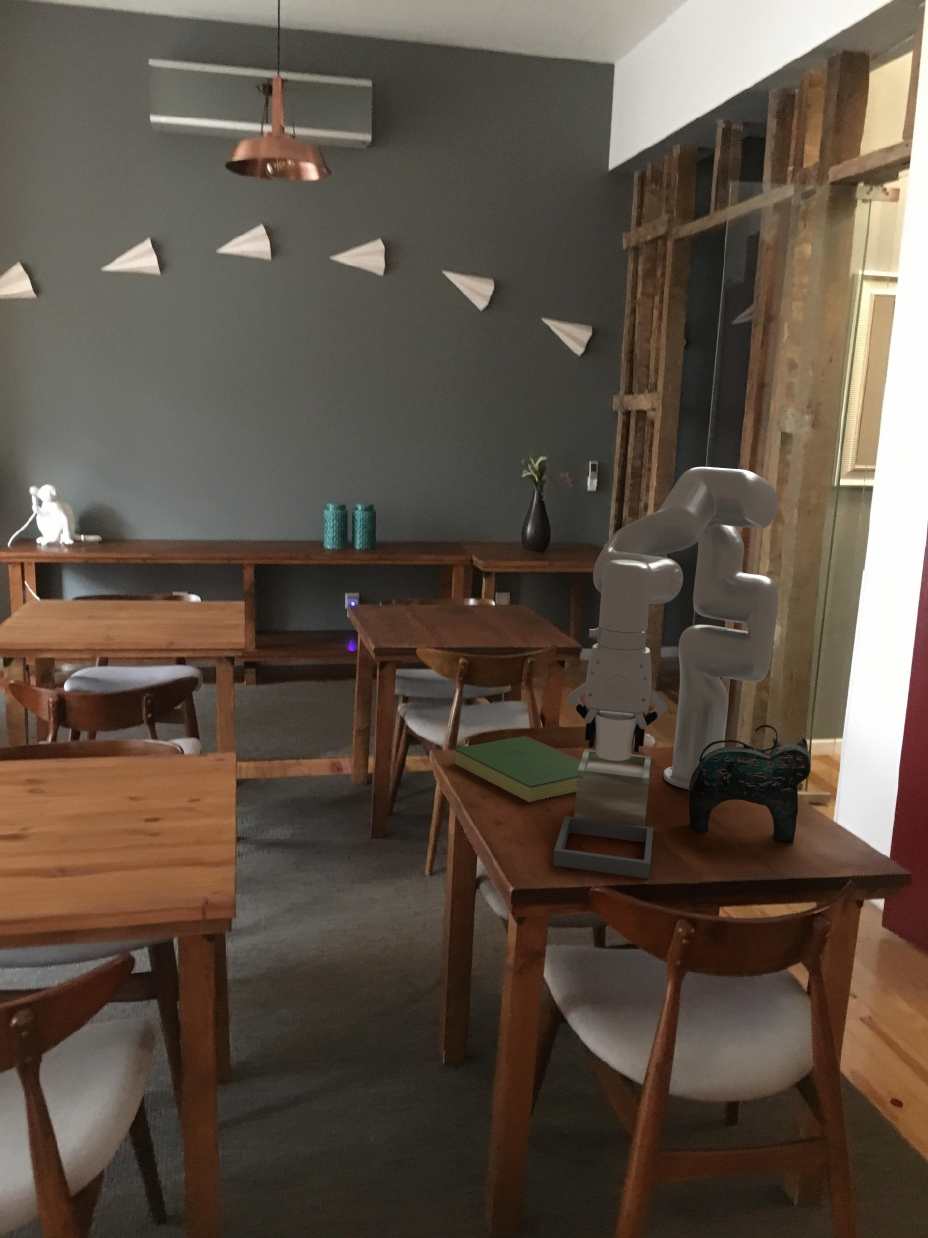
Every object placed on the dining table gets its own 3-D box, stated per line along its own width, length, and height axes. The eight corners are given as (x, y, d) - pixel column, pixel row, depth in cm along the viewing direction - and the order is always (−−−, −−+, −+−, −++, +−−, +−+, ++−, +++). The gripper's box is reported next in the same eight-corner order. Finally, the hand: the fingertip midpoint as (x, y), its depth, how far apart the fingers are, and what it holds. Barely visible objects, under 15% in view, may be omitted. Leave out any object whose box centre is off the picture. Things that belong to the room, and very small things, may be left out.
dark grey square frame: (563, 829, 175) (564, 816, 174) (652, 841, 172) (653, 827, 171) (552, 865, 160) (554, 850, 160) (648, 878, 157) (650, 863, 157)
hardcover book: (603, 788, 197) (605, 770, 197) (528, 805, 186) (530, 786, 186) (522, 751, 217) (523, 734, 216) (451, 765, 206) (451, 747, 206)
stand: (580, 803, 188) (584, 749, 186) (646, 811, 185) (651, 756, 183) (573, 827, 176) (577, 770, 174) (643, 836, 174) (648, 778, 172)
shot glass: (634, 764, 159) (637, 721, 158) (590, 759, 161) (593, 717, 159) (635, 750, 166) (639, 709, 164) (593, 745, 167) (596, 705, 166)
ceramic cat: (800, 834, 178) (814, 725, 174) (805, 849, 172) (819, 736, 168) (685, 820, 182) (696, 713, 178) (685, 834, 176) (696, 723, 172)
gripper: (564, 639, 157) (557, 749, 161) (678, 649, 154) (668, 761, 158) (569, 629, 165) (562, 734, 168) (678, 638, 161) (669, 746, 165)
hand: (614, 746), depth 163 cm, fingers closed on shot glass, 6 cm apart
